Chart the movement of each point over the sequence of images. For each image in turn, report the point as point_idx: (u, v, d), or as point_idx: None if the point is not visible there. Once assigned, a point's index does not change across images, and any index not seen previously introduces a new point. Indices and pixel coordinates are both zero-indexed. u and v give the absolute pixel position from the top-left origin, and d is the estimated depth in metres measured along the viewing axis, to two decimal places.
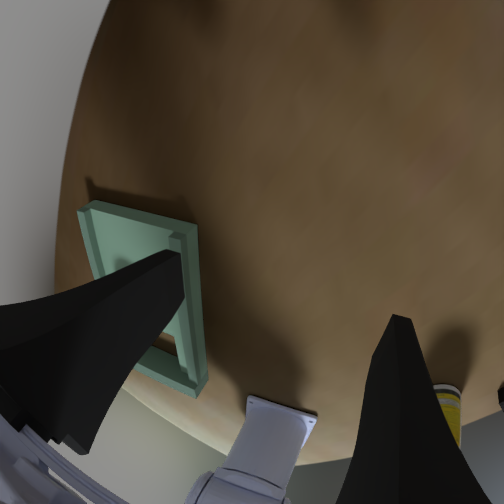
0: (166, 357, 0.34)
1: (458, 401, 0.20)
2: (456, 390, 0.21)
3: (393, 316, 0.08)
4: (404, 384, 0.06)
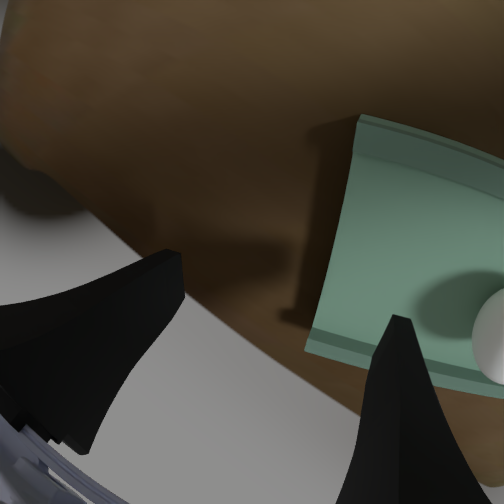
0: None
1: None
2: None
3: (393, 316, 0.08)
4: (404, 384, 0.06)
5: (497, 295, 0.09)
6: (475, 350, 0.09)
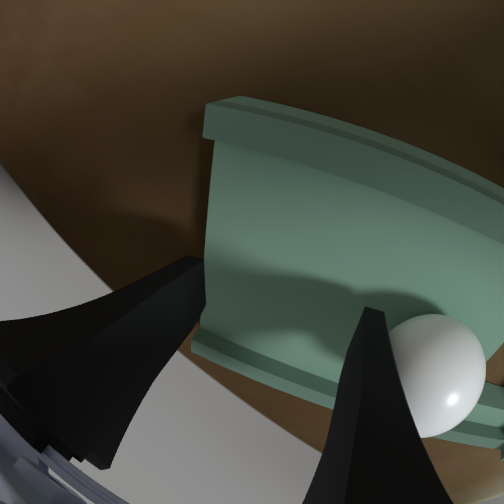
0: None
1: None
2: None
3: (364, 308, 0.09)
4: (368, 375, 0.06)
5: (401, 328, 0.08)
6: None
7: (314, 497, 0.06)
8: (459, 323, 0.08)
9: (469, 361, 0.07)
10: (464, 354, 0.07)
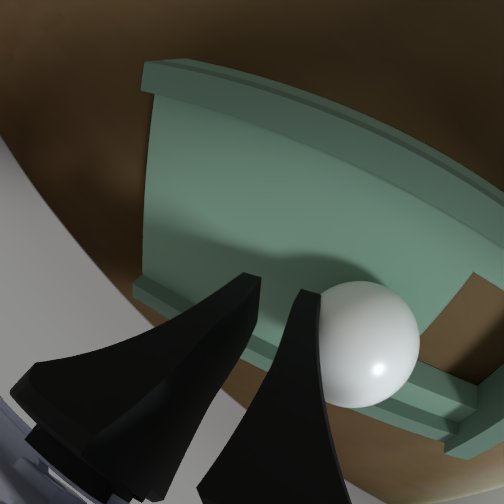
0: None
1: None
2: None
3: (300, 290, 0.09)
4: (284, 351, 0.07)
5: (322, 303, 0.09)
6: None
7: None
8: (385, 291, 0.09)
9: (401, 333, 0.08)
10: (394, 327, 0.08)
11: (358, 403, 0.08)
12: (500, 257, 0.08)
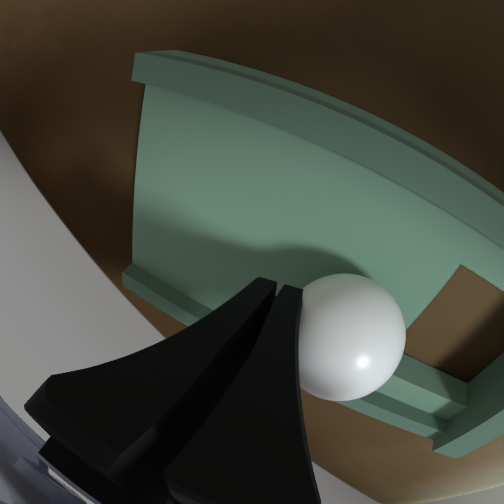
0: None
1: None
2: None
3: (283, 286, 0.09)
4: (262, 344, 0.07)
5: (305, 298, 0.09)
6: None
7: None
8: (369, 284, 0.09)
9: (385, 328, 0.08)
10: (379, 322, 0.08)
11: (344, 397, 0.08)
12: (488, 249, 0.08)
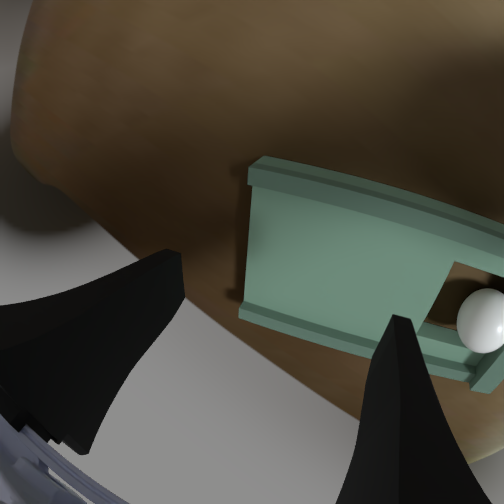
0: None
1: None
2: None
3: (393, 316, 0.08)
4: (404, 384, 0.06)
5: None
6: None
7: None
8: (496, 327, 0.13)
9: (482, 310, 0.14)
10: (486, 308, 0.14)
11: None
12: (468, 249, 0.14)
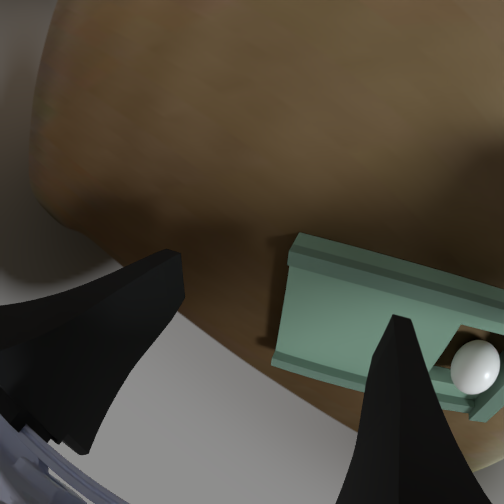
0: None
1: None
2: None
3: (393, 316, 0.08)
4: (404, 384, 0.06)
5: (496, 366, 0.16)
6: None
7: None
8: (474, 374, 0.16)
9: (468, 357, 0.17)
10: (472, 357, 0.17)
11: (473, 340, 0.18)
12: (473, 315, 0.16)
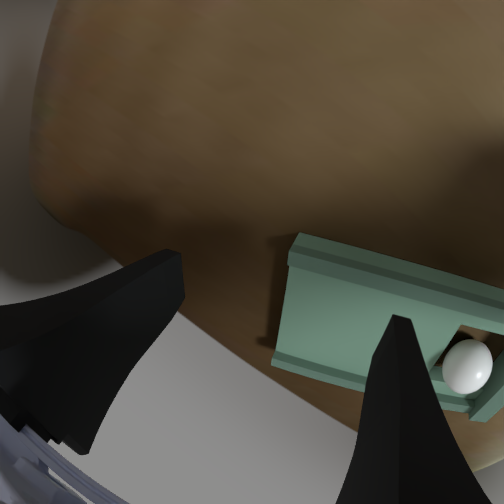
0: None
1: None
2: None
3: (393, 316, 0.08)
4: (404, 384, 0.06)
5: (483, 369, 0.16)
6: None
7: None
8: (459, 369, 0.17)
9: (458, 351, 0.17)
10: (461, 351, 0.17)
11: None
12: (473, 315, 0.16)
